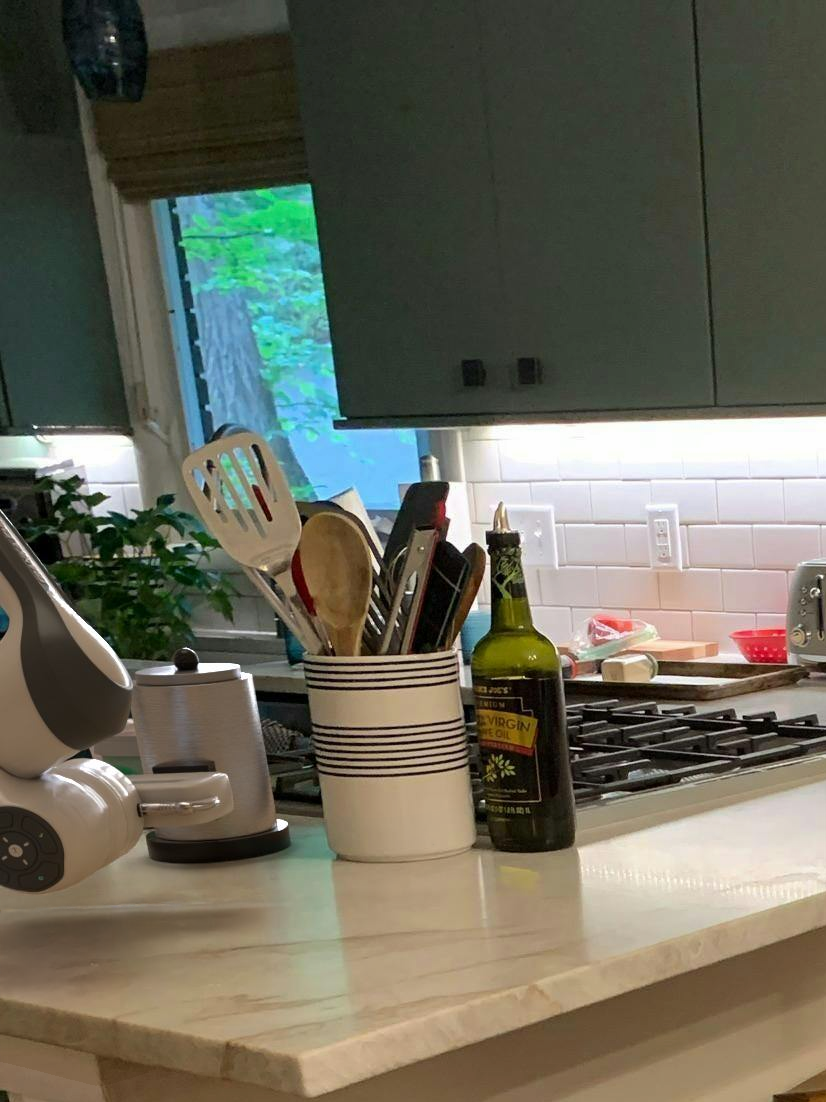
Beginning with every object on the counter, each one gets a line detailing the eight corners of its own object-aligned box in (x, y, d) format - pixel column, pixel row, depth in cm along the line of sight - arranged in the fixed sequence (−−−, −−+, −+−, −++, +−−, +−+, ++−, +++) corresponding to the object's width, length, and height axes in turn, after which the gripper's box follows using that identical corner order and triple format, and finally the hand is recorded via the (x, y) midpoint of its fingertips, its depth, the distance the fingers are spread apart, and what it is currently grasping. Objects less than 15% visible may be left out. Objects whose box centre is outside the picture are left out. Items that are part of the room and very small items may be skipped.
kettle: (269, 861, 194) (232, 653, 186) (127, 868, 193) (84, 659, 185) (311, 828, 210) (279, 636, 202) (180, 834, 209) (143, 641, 201)
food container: (86, 830, 213) (66, 737, 209) (117, 820, 219) (99, 729, 214) (188, 830, 211) (170, 736, 207) (217, 820, 216) (200, 728, 212)
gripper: (201, 771, 164) (245, 746, 177) (-44, 780, 163) (18, 755, 176) (215, 845, 167) (258, 816, 180) (-26, 855, 166) (33, 825, 179)
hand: (137, 786), depth 178 cm, fingers closed
